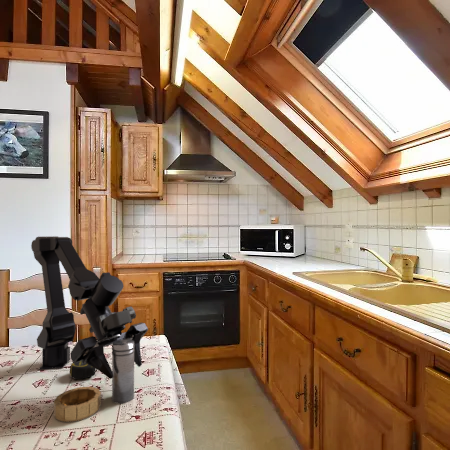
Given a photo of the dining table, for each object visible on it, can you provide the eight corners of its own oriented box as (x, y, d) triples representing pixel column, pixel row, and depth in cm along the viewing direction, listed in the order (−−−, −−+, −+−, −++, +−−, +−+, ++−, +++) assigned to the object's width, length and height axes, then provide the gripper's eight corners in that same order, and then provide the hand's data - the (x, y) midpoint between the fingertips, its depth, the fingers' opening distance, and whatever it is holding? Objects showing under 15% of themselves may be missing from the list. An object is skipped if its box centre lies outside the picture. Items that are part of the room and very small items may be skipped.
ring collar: (46, 424, 65) (47, 409, 65) (63, 400, 74) (64, 388, 74) (93, 420, 66) (93, 406, 66) (104, 397, 75) (104, 385, 75)
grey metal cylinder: (109, 404, 72) (109, 347, 73) (114, 393, 77) (114, 339, 78) (132, 402, 73) (132, 346, 73) (135, 391, 78) (136, 338, 79)
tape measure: (95, 379, 85) (95, 365, 85) (67, 383, 83) (67, 369, 83) (97, 369, 92) (97, 356, 92) (71, 372, 90) (71, 359, 90)
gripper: (77, 304, 71) (105, 366, 64) (143, 292, 86) (172, 341, 79) (59, 333, 75) (84, 394, 68) (125, 317, 90) (151, 365, 83)
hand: (126, 371), depth 75 cm, fingers open, 8 cm apart
